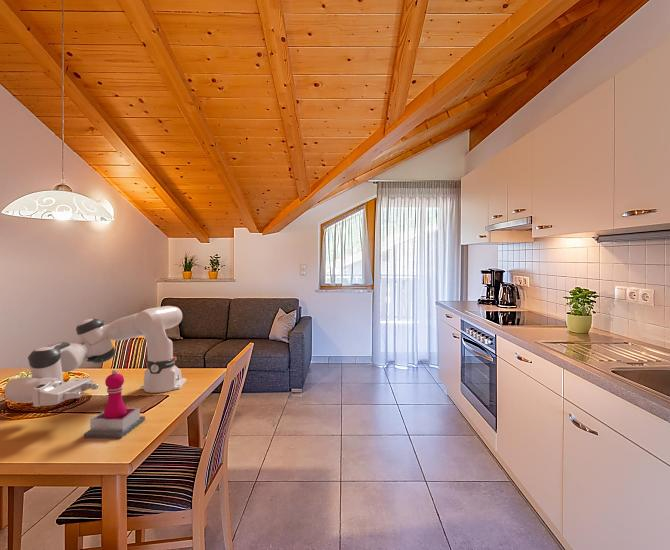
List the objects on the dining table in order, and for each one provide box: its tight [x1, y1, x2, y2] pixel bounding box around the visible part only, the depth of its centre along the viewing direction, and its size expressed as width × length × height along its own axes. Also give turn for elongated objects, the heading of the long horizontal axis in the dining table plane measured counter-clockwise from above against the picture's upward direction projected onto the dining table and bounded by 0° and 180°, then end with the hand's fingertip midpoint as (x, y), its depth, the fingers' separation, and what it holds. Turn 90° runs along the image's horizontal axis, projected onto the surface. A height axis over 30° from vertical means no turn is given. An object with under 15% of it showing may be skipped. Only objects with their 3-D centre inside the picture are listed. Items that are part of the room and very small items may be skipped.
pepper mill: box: [103, 369, 127, 419], centre depth 146 cm, size 7×7×20 cm
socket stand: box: [83, 407, 146, 439], centre depth 146 cm, size 16×13×6 cm
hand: (89, 390), depth 146 cm, fingers open, 8 cm apart
